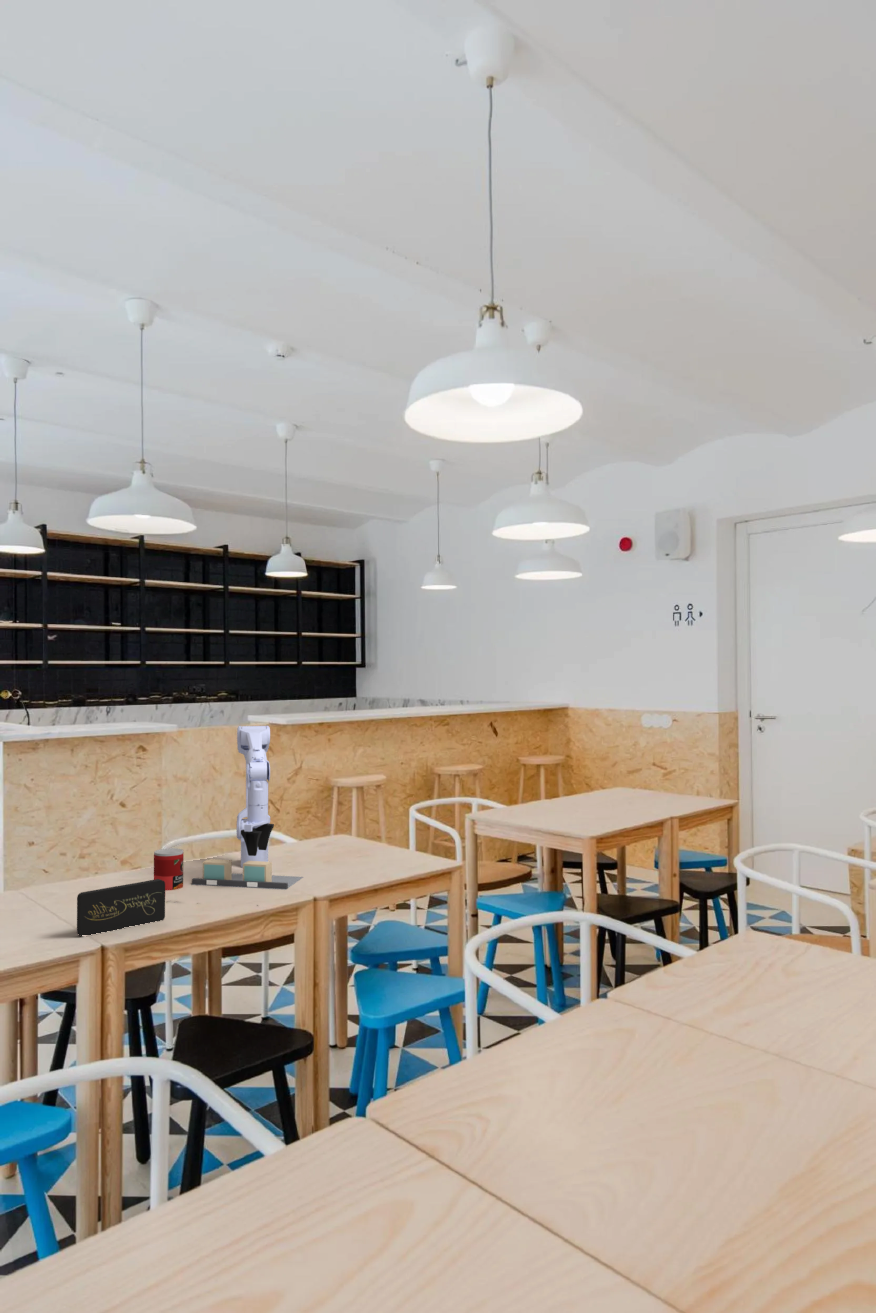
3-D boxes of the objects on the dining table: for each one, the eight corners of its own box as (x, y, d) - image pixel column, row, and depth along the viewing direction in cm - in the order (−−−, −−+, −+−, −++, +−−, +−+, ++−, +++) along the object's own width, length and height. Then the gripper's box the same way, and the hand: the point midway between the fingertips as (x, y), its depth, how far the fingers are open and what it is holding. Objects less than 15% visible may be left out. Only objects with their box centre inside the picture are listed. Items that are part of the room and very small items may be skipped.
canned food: (178, 894, 243) (178, 853, 243) (149, 893, 243) (149, 853, 244) (186, 887, 251) (187, 848, 251) (158, 886, 251) (159, 847, 251)
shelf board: (213, 875, 265) (213, 867, 265) (303, 880, 260) (303, 871, 260) (190, 888, 250) (191, 879, 250) (285, 893, 245) (286, 884, 245)
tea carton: (271, 883, 252) (271, 861, 252) (266, 886, 248) (266, 864, 248) (248, 881, 253) (248, 860, 254) (242, 885, 249) (242, 863, 250)
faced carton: (231, 881, 254) (231, 860, 254) (225, 884, 250) (225, 863, 250) (208, 880, 255) (208, 859, 255) (202, 883, 251) (202, 862, 251)
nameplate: (161, 918, 220) (161, 878, 220) (164, 920, 219) (165, 879, 219) (76, 936, 206) (77, 892, 206) (80, 938, 204) (80, 894, 204)
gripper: (254, 800, 259) (253, 846, 259) (234, 808, 245) (233, 857, 244) (277, 800, 258) (276, 847, 257) (258, 808, 243) (258, 858, 243)
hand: (257, 852), depth 251 cm, fingers open, 7 cm apart
